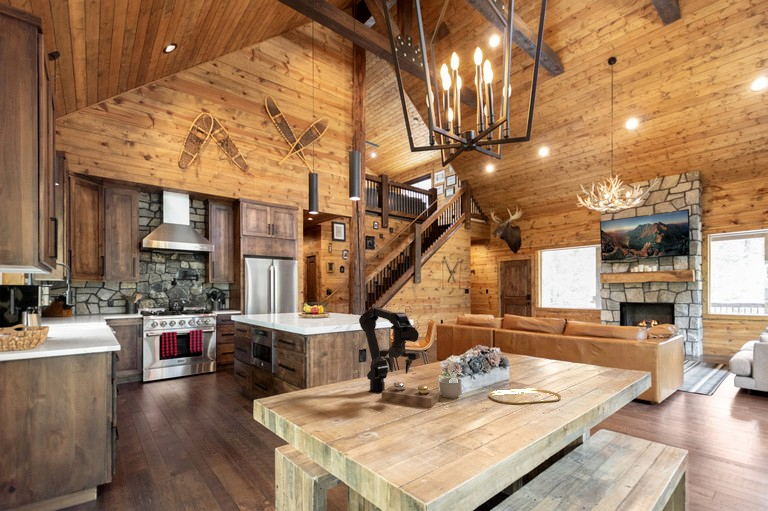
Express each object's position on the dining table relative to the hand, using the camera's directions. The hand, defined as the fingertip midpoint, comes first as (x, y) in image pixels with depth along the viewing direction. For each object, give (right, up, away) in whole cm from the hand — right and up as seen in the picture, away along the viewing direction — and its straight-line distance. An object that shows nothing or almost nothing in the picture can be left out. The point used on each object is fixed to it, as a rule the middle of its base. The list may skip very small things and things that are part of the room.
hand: (399, 372), depth 181 cm
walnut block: (+5, -12, -4) cm, 13 cm away
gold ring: (+60, -13, +2) cm, 62 cm away
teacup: (+25, -13, +5) cm, 28 cm away
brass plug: (+11, -8, -6) cm, 14 cm away
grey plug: (0, -8, -1) cm, 8 cm away
